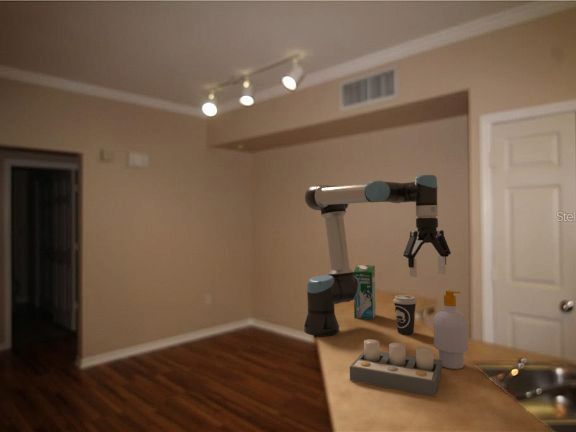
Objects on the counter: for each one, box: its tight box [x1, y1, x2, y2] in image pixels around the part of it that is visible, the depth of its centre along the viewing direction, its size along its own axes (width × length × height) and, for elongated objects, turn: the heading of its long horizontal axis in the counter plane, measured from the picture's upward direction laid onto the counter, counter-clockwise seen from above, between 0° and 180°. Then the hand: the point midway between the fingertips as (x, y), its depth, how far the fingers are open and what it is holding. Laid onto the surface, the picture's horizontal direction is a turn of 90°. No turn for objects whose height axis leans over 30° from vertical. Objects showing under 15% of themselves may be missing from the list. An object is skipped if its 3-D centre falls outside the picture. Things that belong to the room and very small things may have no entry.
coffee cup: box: [392, 294, 418, 336], centre depth 157 cm, size 10×10×15 cm
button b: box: [388, 342, 406, 367], centre depth 114 cm, size 5×5×6 cm
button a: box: [363, 338, 381, 362], centre depth 118 cm, size 5×5×6 cm
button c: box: [415, 346, 434, 371], centre depth 111 cm, size 5×5×6 cm
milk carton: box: [353, 264, 377, 320], centre depth 185 cm, size 9×9×25 cm
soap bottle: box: [433, 290, 469, 370], centre depth 121 cm, size 10×10×24 cm
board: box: [349, 350, 443, 397], centre depth 113 cm, size 24×17×4 cm
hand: (427, 275), depth 136 cm, fingers open, 13 cm apart
